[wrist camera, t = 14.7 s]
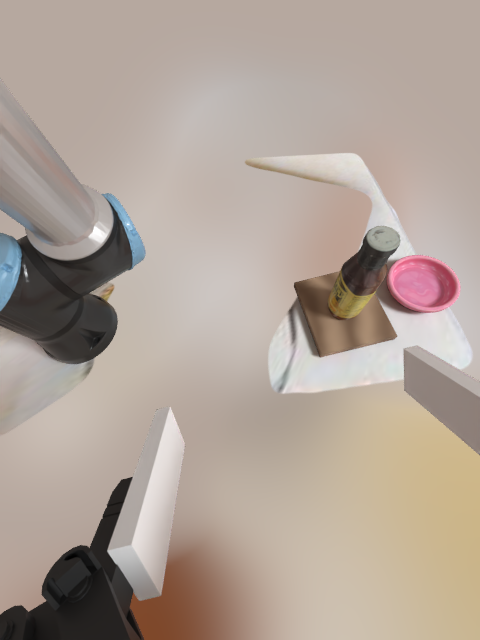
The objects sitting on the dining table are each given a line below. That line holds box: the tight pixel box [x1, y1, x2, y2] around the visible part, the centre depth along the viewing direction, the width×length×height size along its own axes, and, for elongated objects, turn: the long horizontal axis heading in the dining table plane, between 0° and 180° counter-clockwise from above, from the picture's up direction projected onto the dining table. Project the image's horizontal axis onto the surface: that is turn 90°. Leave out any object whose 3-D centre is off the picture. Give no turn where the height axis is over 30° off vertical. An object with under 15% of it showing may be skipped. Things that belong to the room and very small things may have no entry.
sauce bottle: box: [328, 226, 400, 320], centre depth 41 cm, size 6×6×20 cm
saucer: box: [387, 255, 460, 313], centre depth 50 cm, size 12×12×3 cm
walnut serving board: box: [294, 272, 397, 357], centre depth 51 cm, size 14×16×2 cm
